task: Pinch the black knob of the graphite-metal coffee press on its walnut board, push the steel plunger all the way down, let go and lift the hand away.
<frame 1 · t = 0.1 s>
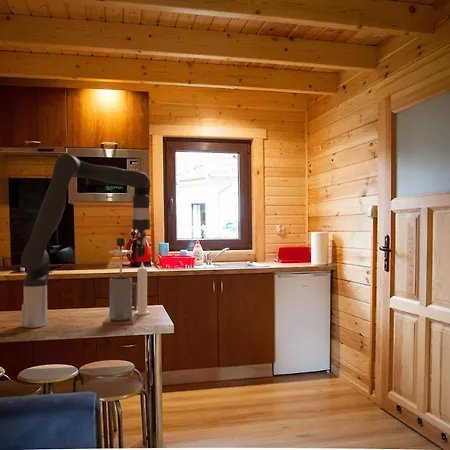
hand: (141, 256, 189), 29 cm above the table, fingers open, 8 cm apart
candle: (142, 313, 212), on the table
press: (120, 321, 194), on the table
plunger: (120, 264, 194), point 25 cm above the table, slide at 11.0 cm
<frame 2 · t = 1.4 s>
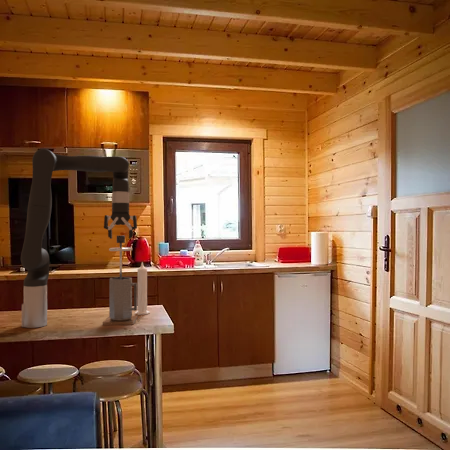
hand: (120, 238, 194), 37 cm above the table, fingers open, 8 cm apart
plunger: (120, 262, 194), point 26 cm above the table, slide at 12.2 cm
everything else where it was.
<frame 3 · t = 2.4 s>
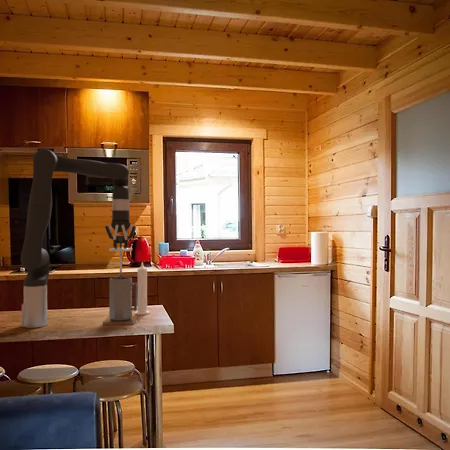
hand: (120, 248, 194), 33 cm above the table, fingers closed on plunger, 3 cm apart
plunger: (120, 262, 194), point 26 cm above the table, slide at 12.0 cm, touching gripper
everything else where it was.
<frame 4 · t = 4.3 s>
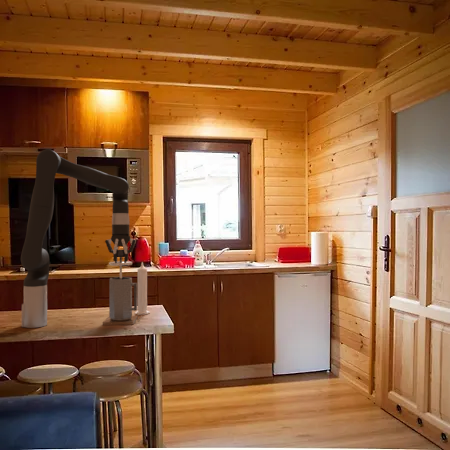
hand: (120, 262, 194), 26 cm above the table, fingers closed on plunger, 3 cm apart
plunger: (120, 276, 194), point 20 cm above the table, slide at 5.9 cm, touching gripper
everything else where it was.
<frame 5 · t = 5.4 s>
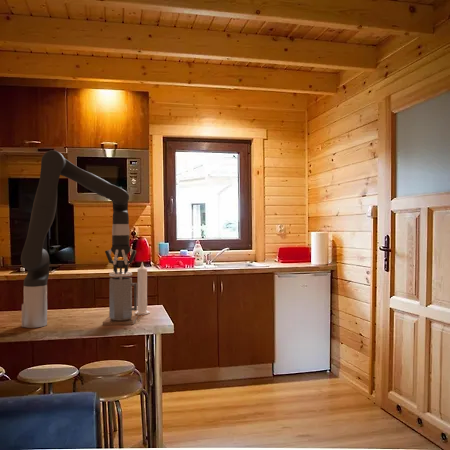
hand: (120, 272, 194), 22 cm above the table, fingers closed on plunger, 3 cm apart
plunger: (120, 286, 194), point 15 cm above the table, slide at 1.1 cm, touching gripper
everything else where it was.
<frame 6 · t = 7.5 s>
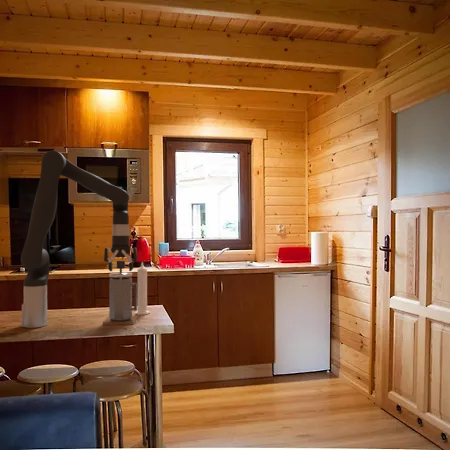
hand: (120, 271, 194), 22 cm above the table, fingers open, 8 cm apart
plunger: (120, 287, 194), point 15 cm above the table, slide at 0.9 cm
everything else where it was.
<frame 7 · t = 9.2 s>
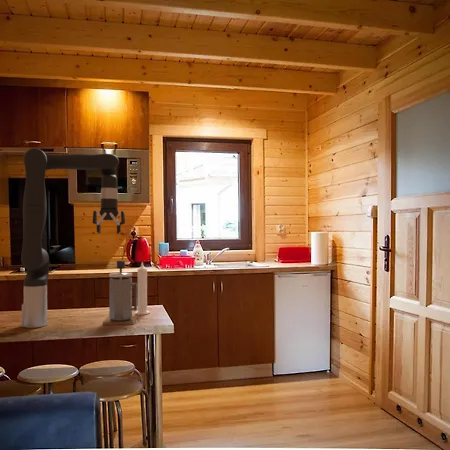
hand: (108, 233, 200), 39 cm above the table, fingers open, 8 cm apart
nothing on the table moved.
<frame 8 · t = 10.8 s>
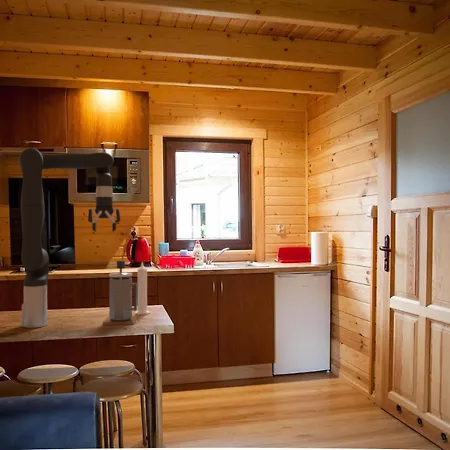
hand: (104, 231, 202), 40 cm above the table, fingers open, 8 cm apart
nothing on the table moved.
at the end: plunger slide at 0.9 cm; the gripper is holding nothing; candle moved 0.2 cm from its start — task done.
